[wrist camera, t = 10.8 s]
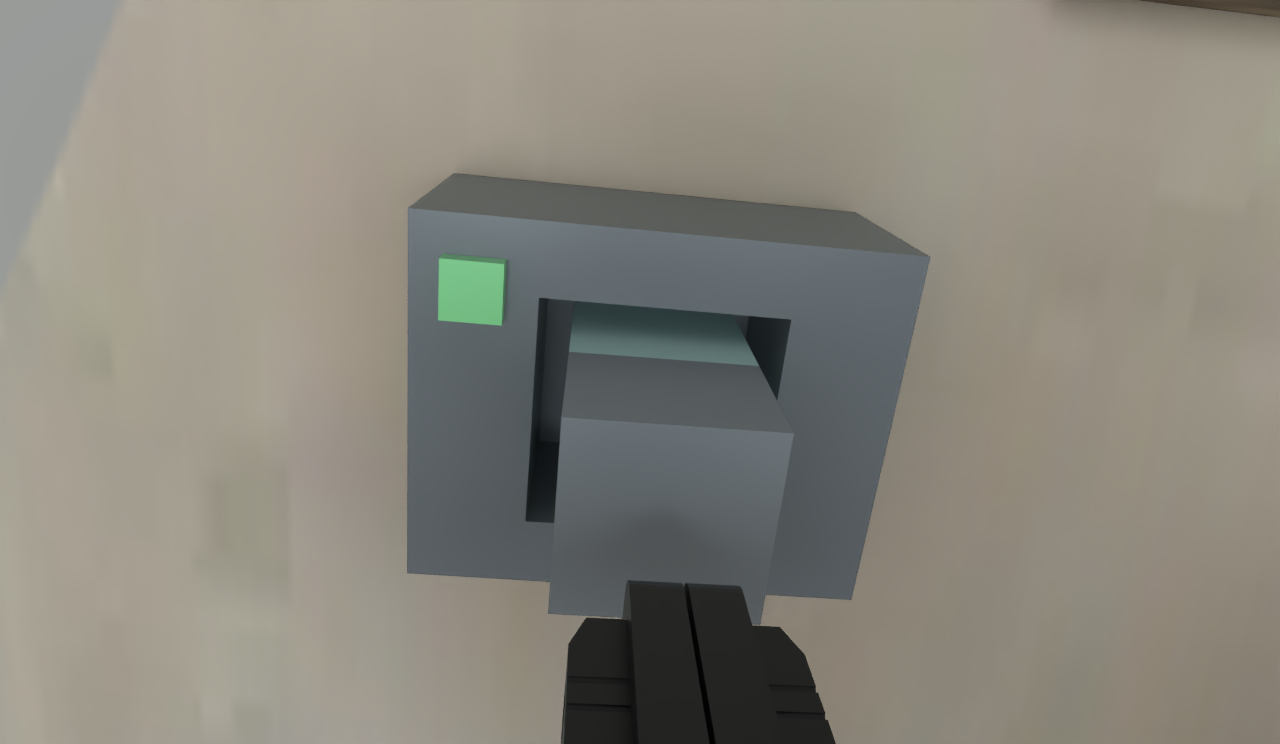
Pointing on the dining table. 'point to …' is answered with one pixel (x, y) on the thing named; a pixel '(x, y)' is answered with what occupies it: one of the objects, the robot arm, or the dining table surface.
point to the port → (647, 277)
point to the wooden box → (1232, 5)
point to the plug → (664, 459)
